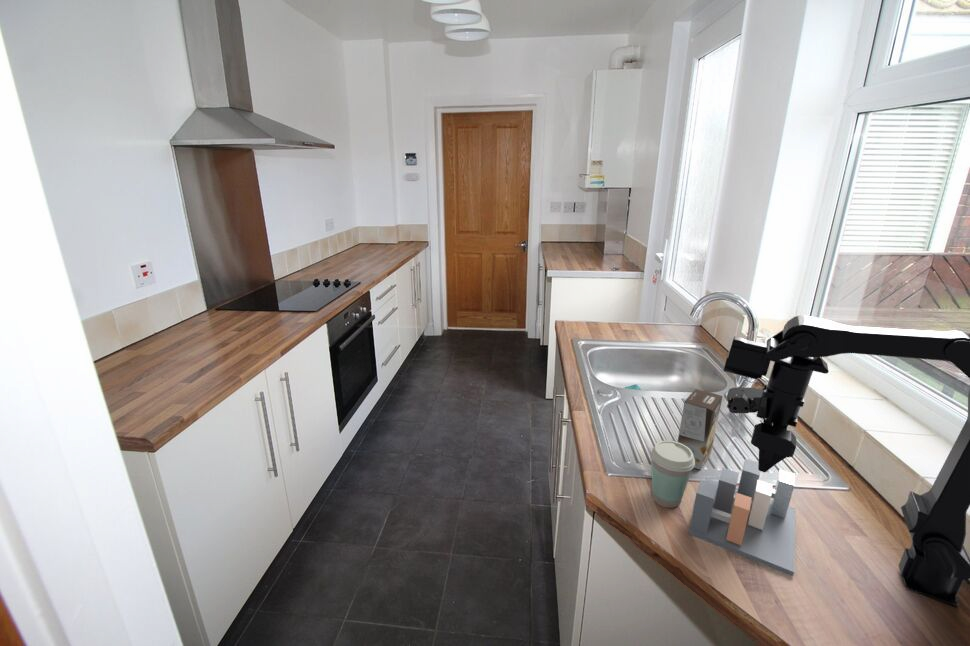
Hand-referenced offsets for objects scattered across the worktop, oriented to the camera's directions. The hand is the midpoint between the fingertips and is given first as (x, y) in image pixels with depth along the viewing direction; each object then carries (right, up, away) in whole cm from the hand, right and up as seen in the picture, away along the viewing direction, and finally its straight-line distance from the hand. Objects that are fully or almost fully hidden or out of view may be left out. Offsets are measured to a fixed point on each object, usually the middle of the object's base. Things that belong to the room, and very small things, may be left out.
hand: (763, 457), depth 85 cm
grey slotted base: (-1, -14, +4) cm, 15 cm away
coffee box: (-2, -7, +25) cm, 26 cm away
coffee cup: (-14, -12, +11) cm, 22 cm away
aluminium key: (+5, -12, +7) cm, 15 cm away
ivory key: (-2, -13, +4) cm, 14 cm away
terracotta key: (-8, -14, +1) cm, 16 cm away
